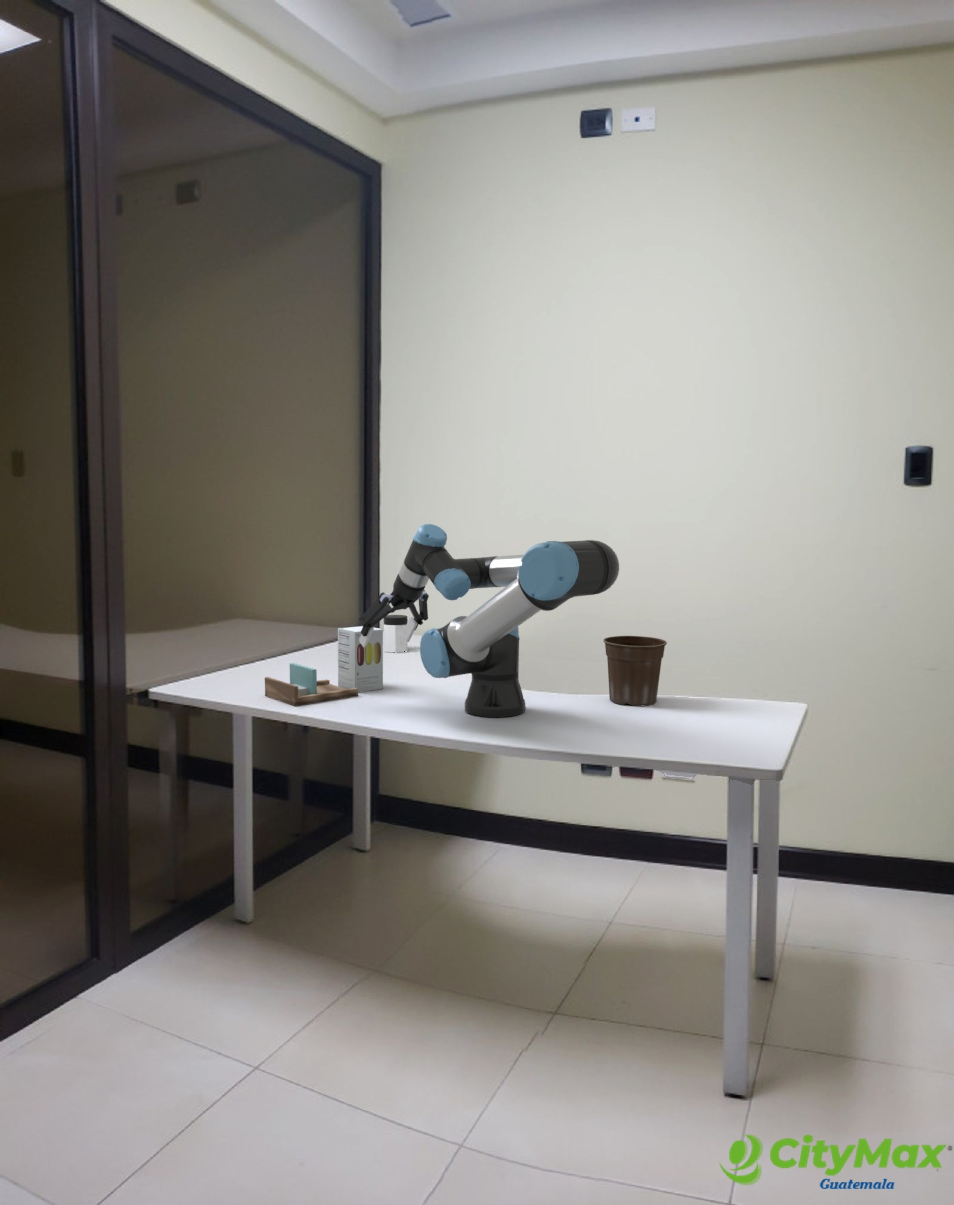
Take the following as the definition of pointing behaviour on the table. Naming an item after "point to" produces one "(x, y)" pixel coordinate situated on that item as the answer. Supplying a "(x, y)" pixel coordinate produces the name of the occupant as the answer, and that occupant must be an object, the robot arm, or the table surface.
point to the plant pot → (634, 668)
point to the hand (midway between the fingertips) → (384, 641)
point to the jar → (394, 633)
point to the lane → (290, 695)
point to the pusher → (303, 679)
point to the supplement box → (360, 660)
